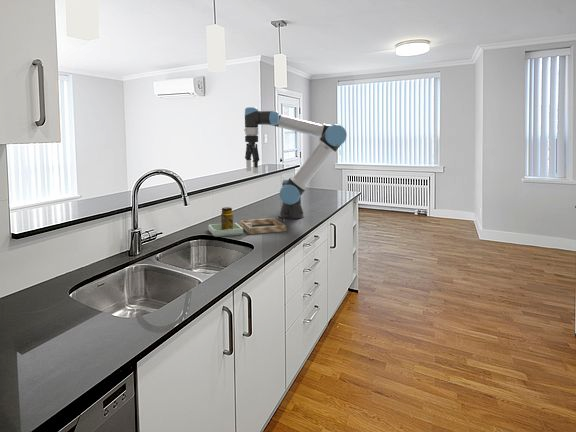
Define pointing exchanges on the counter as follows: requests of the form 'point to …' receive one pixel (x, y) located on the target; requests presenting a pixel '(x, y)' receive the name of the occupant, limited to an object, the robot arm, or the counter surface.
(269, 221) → the brown wooden tray
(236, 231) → the green tray
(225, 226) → the condiment
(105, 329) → the counter surface
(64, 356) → the counter surface
